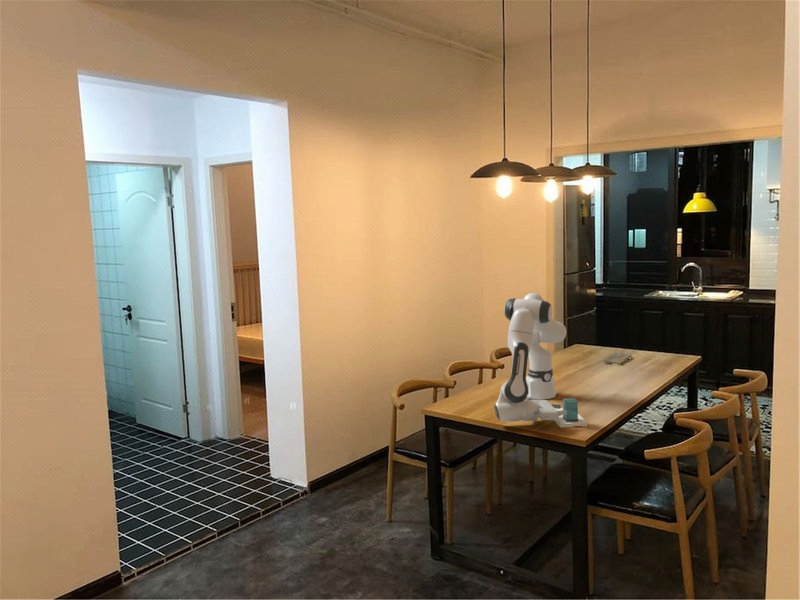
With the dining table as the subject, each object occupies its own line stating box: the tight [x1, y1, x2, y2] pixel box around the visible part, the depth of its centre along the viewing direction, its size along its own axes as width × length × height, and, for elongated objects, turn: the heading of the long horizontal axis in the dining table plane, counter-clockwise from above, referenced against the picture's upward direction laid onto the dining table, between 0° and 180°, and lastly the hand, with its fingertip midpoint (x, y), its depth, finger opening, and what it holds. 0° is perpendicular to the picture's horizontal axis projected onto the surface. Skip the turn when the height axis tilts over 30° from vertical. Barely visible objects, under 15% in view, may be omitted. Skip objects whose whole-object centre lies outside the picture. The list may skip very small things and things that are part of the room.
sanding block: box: [562, 398, 579, 422], centre depth 280 cm, size 5×5×9 cm
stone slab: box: [603, 351, 632, 366], centre depth 405 cm, size 12×4×30 cm
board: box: [553, 407, 589, 428], centre depth 288 cm, size 24×12×2 cm, turn 1°
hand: (563, 409), depth 280 cm, fingers open, 8 cm apart
